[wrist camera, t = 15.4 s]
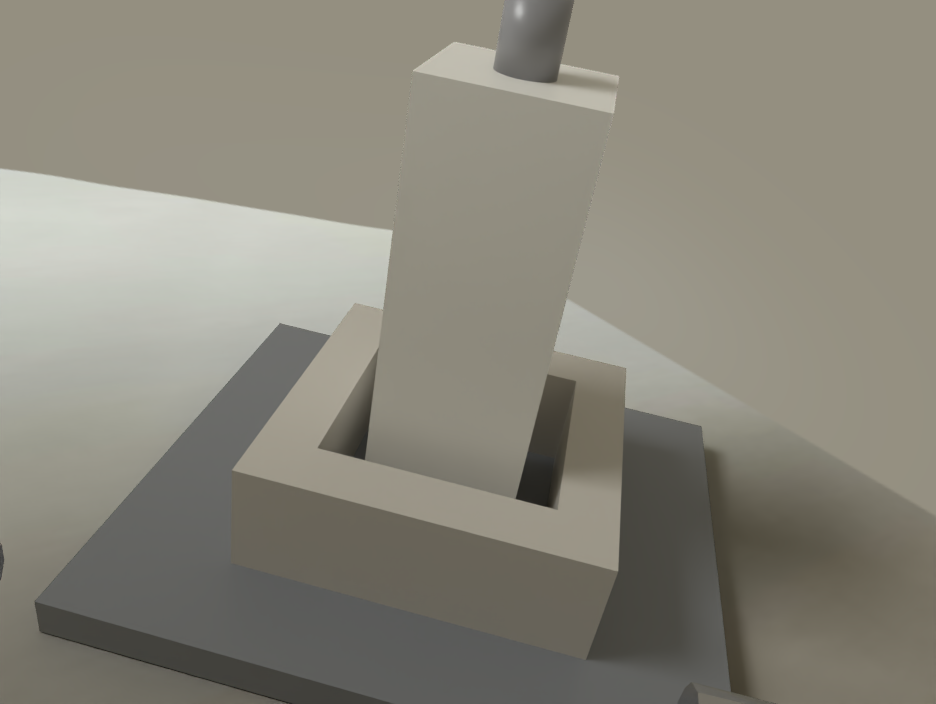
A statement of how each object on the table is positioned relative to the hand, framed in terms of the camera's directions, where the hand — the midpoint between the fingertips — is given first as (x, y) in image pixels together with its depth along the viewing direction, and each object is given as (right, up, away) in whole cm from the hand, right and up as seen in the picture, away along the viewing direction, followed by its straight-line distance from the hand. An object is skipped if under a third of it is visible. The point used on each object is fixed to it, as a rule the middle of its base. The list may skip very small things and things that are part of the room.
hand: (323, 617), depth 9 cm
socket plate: (+1, -2, +15) cm, 15 cm away
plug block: (+1, -1, +14) cm, 14 cm away
